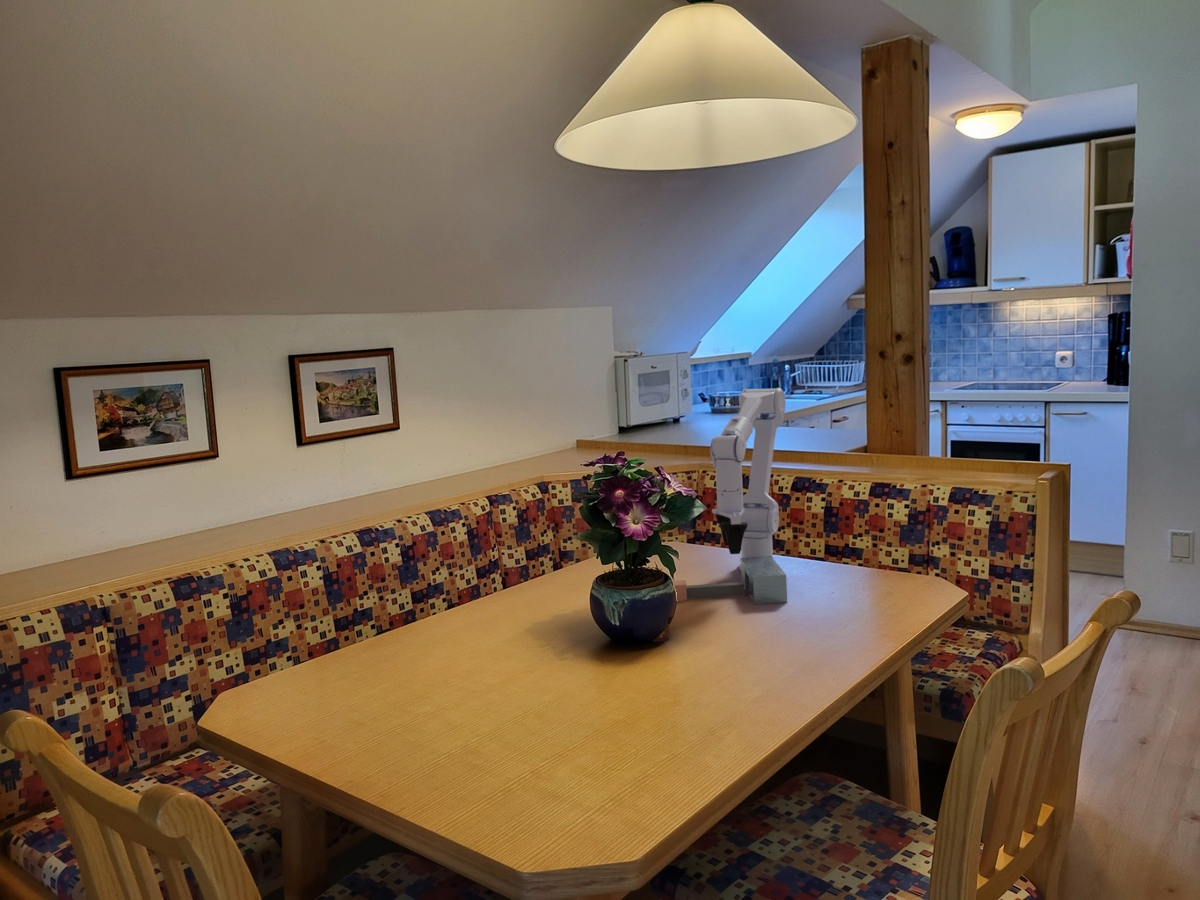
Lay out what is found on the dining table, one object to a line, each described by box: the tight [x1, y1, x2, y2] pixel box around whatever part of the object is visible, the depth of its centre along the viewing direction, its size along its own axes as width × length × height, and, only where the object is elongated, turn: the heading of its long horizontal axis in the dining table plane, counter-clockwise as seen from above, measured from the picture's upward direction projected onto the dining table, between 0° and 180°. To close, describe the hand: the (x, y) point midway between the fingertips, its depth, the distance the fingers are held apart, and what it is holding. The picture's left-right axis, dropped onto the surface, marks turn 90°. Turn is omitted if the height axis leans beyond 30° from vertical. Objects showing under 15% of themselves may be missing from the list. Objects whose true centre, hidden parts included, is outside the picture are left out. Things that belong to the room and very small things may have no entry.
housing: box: [739, 556, 788, 605], centre depth 203 cm, size 16×7×6 cm, turn 1°
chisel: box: [672, 580, 745, 602], centre depth 203 cm, size 4×18×4 cm, turn 91°
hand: (732, 549), depth 205 cm, fingers open, 7 cm apart
